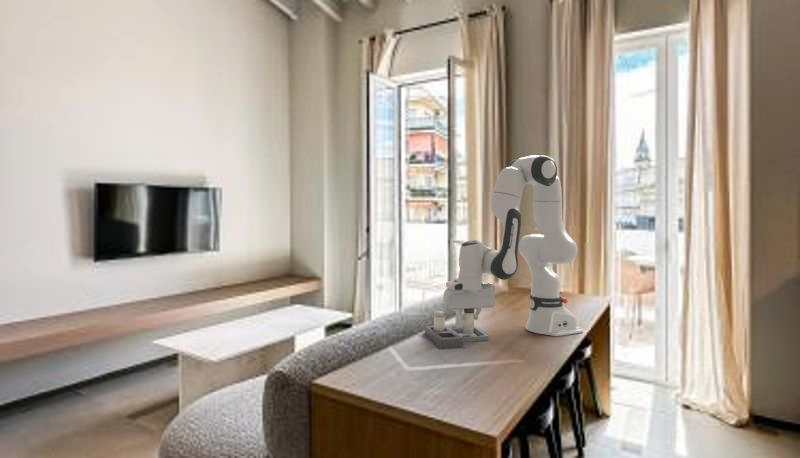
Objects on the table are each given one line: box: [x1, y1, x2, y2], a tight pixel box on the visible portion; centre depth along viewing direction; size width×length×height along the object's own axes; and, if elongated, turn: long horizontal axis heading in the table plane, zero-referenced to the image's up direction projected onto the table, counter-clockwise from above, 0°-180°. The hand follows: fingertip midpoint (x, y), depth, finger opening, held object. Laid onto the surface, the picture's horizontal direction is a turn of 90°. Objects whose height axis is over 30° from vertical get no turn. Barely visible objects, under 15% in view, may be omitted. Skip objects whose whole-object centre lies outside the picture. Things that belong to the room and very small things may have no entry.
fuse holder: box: [420, 325, 467, 350], centre depth 179 cm, size 20×10×4 cm, turn 15°
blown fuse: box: [462, 308, 476, 335], centre depth 185 cm, size 4×4×10 cm
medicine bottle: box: [454, 309, 464, 328], centre depth 199 cm, size 7×7×12 cm
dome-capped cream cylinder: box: [433, 310, 446, 331], centre depth 183 cm, size 4×4×10 cm
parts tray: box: [449, 326, 489, 343], centre depth 185 cm, size 11×12×2 cm
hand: (468, 319), depth 185 cm, fingers closed on blown fuse, 4 cm apart
